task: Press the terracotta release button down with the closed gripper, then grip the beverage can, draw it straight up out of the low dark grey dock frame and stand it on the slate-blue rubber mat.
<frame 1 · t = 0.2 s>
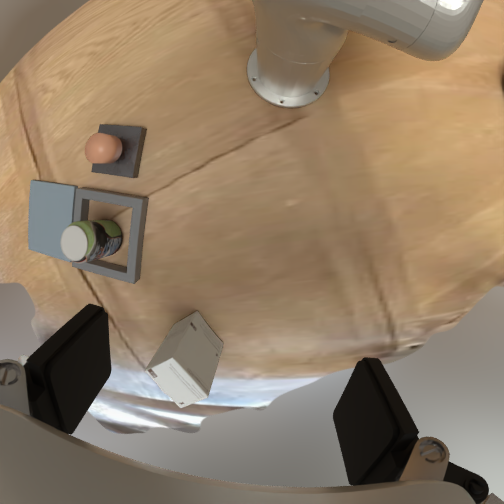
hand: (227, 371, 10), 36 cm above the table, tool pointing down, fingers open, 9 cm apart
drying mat: (51, 219, 46), on the table
beverage can: (110, 232, 46), resting in dock frame
button base: (120, 150, 42), on the table
dock frame: (110, 232, 46), on the table
release button: (103, 148, 37), point 6 cm above the table, slide at 0.0 cm
skincare box: (197, 332, 51), on the table
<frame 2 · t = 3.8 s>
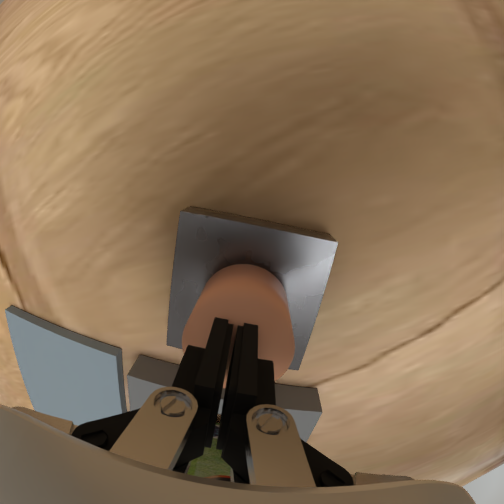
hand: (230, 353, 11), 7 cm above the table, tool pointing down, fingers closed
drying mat: (70, 387, 21), on the table
beverage can: (216, 431, 21), resting in dock frame
button base: (246, 286, 17), on the table
dock frame: (216, 433, 21), on the table
release button: (241, 324, 13), point 5 cm above the table, slide at 1.2 cm
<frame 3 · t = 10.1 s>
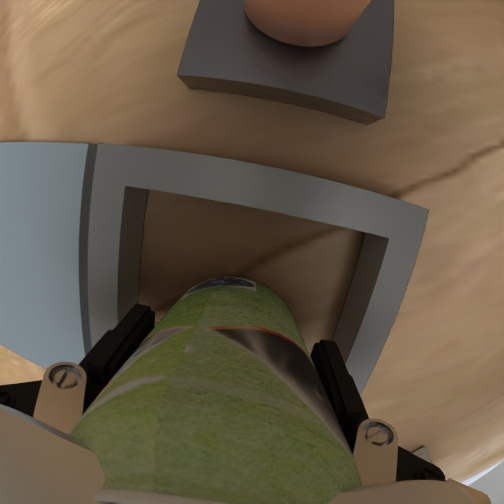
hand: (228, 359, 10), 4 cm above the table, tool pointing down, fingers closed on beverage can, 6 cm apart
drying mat: (16, 258, 14), on the table
beverage can: (236, 314, 14), resting in dock frame, touching gripper
button base: (294, 28, 10), on the table
dock frame: (236, 316, 14), on the table
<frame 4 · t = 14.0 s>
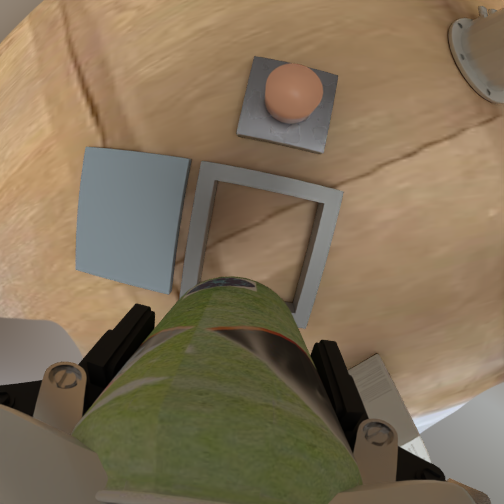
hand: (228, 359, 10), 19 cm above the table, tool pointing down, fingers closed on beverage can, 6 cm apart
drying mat: (127, 217, 29), on the table
beverage can: (236, 314, 14), point 16 cm above the table, touching gripper
button base: (287, 106, 26), on the table
dock frame: (257, 244, 29), on the table
release button: (291, 94, 21), point 4 cm above the table, slide at 1.4 cm
skincare box: (366, 380, 34), on the table
when the fingers open (6 cm above the table, at t = 18.2 s): beverage can drops 1 cm, resting on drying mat.
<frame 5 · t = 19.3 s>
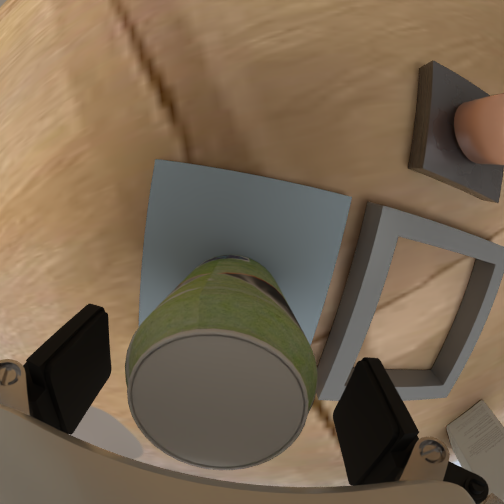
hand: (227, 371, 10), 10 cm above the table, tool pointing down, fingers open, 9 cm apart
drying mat: (233, 282, 19), on the table
beverage can: (234, 286, 18), point 1 cm above the table, touching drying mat
button base: (456, 135, 16), on the table
dock frame: (414, 311, 20), on the table
release button: (494, 130, 12), point 4 cm above the table, slide at 1.4 cm
skincare box: (464, 424, 24), on the table
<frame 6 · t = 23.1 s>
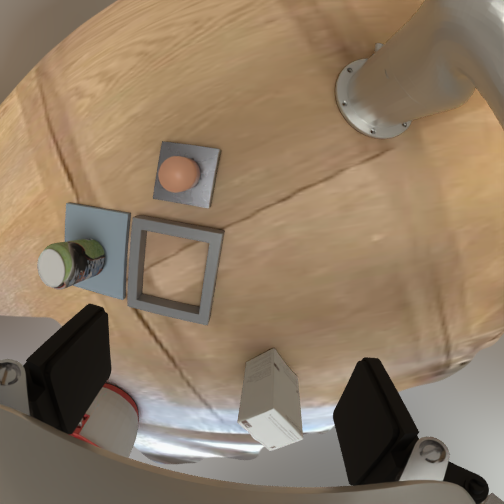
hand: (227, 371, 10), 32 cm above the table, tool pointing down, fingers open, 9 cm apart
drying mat: (95, 250, 43), on the table
beverage can: (93, 251, 42), point 1 cm above the table, touching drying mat
citrus juicer: (113, 398, 51), on the table
button base: (188, 173, 39), on the table
dock frame: (174, 267, 43), on the table
release button: (180, 174, 35), point 4 cm above the table, slide at 1.4 cm
skincare box: (270, 368, 48), on the table
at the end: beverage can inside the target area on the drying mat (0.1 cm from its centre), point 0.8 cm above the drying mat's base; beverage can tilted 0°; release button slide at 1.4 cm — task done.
